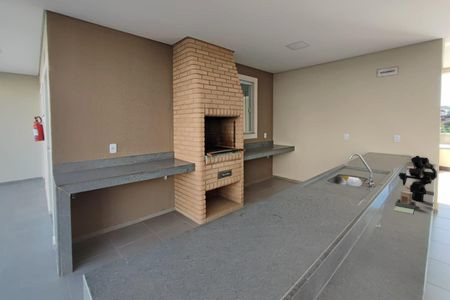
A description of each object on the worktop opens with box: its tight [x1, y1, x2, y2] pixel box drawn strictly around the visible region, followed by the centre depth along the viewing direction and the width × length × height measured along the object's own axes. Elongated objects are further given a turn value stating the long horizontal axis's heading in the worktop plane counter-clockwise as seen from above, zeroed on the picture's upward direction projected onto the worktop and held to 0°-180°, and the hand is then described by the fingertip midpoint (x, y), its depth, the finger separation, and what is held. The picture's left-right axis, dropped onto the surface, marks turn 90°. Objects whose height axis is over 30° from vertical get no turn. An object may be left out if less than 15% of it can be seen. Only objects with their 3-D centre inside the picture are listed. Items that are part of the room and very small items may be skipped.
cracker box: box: [404, 165, 423, 190], centre depth 202 cm, size 14×6×21 cm, turn 168°
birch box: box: [400, 190, 413, 205], centre depth 161 cm, size 5×5×10 cm
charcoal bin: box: [394, 198, 417, 211], centre depth 161 cm, size 11×11×3 cm
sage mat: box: [393, 206, 415, 215], centre depth 153 cm, size 10×10×1 cm
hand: (410, 186), depth 164 cm, fingers open, 9 cm apart
